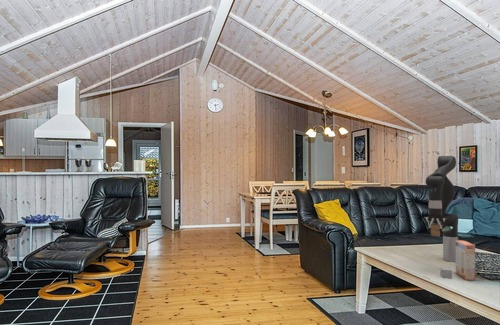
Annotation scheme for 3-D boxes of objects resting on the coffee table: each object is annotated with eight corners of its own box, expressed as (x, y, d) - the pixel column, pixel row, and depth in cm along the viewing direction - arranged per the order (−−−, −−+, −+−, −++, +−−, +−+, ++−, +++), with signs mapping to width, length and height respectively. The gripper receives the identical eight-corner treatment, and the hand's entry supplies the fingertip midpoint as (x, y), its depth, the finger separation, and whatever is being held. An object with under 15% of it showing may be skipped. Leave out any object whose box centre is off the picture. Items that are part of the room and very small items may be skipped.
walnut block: (431, 234, 230) (431, 223, 230) (440, 235, 228) (440, 224, 228) (430, 235, 226) (430, 224, 226) (439, 236, 224) (439, 225, 224)
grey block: (440, 275, 218) (440, 267, 218) (449, 276, 217) (449, 268, 217) (442, 278, 213) (442, 269, 213) (452, 278, 212) (452, 270, 212)
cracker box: (475, 280, 208) (475, 245, 208) (464, 280, 209) (464, 244, 209) (465, 273, 222) (465, 240, 222) (455, 273, 223) (455, 239, 223)
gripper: (448, 207, 227) (448, 234, 227) (423, 206, 234) (423, 232, 234) (448, 208, 220) (448, 236, 220) (422, 207, 227) (422, 233, 227)
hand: (435, 233), depth 227 cm, fingers closed on walnut block, 5 cm apart
